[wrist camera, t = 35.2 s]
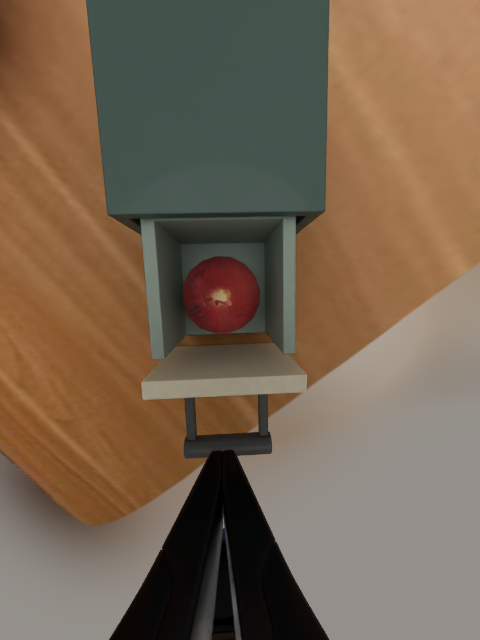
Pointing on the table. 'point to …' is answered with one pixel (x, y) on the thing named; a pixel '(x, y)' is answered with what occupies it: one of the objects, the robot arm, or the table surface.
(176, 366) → the drawer
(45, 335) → the table surface
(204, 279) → the onion
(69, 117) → the table surface
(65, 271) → the table surface
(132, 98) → the cabinet
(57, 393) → the table surface
